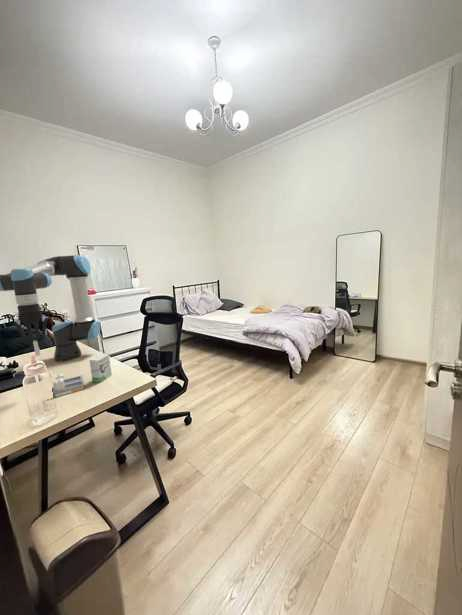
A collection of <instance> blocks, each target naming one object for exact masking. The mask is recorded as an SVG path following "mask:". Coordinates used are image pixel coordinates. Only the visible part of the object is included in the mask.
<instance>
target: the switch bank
mask: <svg viewBox="0 0 462 615" xmlns="http://www.w3.org/2000/svg"><path fill="white" fill-rule="evenodd" d="M64 381H65V384H64V385H65V389H64V390H60V391H57V389H56V384H55V382H54V381H53V390H52V391H53V392H52V393H53V398H54V397H55V398H57V397H58V398H59V397H61V396H65V395H67V394H72V393H75V392H79V391H83V390H85V389H86V386H85V381H84V378H83V375H78V376H73V377H69V378H66V379H65V378H64Z"/></svg>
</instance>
